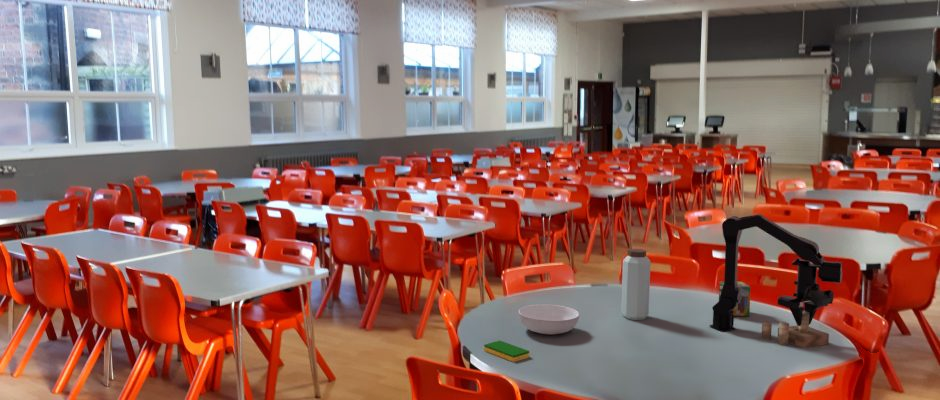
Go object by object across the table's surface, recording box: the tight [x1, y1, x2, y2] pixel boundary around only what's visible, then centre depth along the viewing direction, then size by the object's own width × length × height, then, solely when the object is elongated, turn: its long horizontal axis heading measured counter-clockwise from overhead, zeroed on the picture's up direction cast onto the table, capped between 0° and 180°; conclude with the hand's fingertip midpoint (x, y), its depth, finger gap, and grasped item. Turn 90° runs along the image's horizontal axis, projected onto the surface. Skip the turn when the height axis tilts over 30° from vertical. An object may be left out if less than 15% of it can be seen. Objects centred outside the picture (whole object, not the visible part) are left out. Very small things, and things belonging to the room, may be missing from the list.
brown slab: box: [777, 324, 830, 349], centre depth 249 cm, size 11×11×4 cm
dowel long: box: [798, 310, 810, 333], centre depth 248 cm, size 3×3×10 cm
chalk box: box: [718, 281, 751, 317], centre depth 281 cm, size 9×9×15 cm
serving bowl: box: [518, 303, 580, 336], centre depth 258 cm, size 21×21×7 cm
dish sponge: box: [483, 340, 530, 363], centre depth 234 cm, size 7×14×2 cm, turn 41°
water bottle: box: [620, 248, 651, 321], centre depth 274 cm, size 10×10×25 cm
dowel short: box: [761, 321, 773, 340], centre depth 252 cm, size 3×3×5 cm
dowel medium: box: [777, 321, 790, 346], centre depth 245 cm, size 3×3×7 cm
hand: (803, 325), depth 248 cm, fingers open, 4 cm apart
